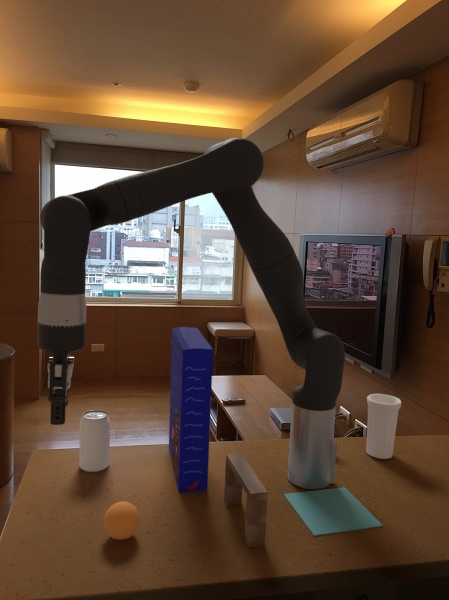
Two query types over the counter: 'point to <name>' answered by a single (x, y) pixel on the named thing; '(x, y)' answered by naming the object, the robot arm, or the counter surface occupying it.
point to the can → (94, 441)
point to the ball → (121, 520)
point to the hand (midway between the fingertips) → (59, 414)
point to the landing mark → (331, 511)
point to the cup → (381, 424)
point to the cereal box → (190, 408)
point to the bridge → (257, 497)
